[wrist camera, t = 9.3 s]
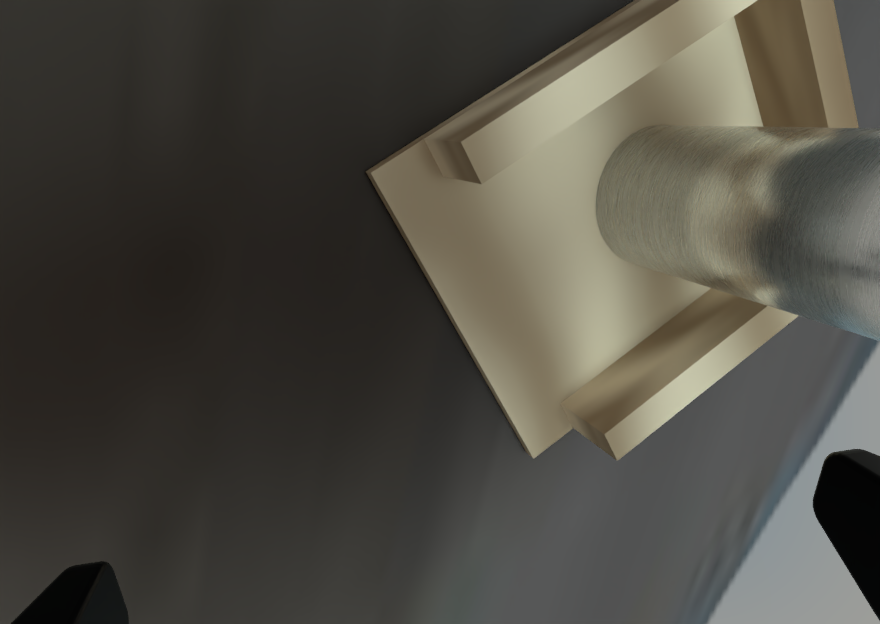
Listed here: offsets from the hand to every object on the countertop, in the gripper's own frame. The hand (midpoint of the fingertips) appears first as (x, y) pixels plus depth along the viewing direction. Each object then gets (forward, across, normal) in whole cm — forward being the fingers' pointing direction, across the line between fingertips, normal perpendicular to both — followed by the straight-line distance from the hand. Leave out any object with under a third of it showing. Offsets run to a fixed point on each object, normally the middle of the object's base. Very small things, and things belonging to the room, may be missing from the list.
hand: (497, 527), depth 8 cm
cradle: (+14, -9, 0) cm, 17 cm away
